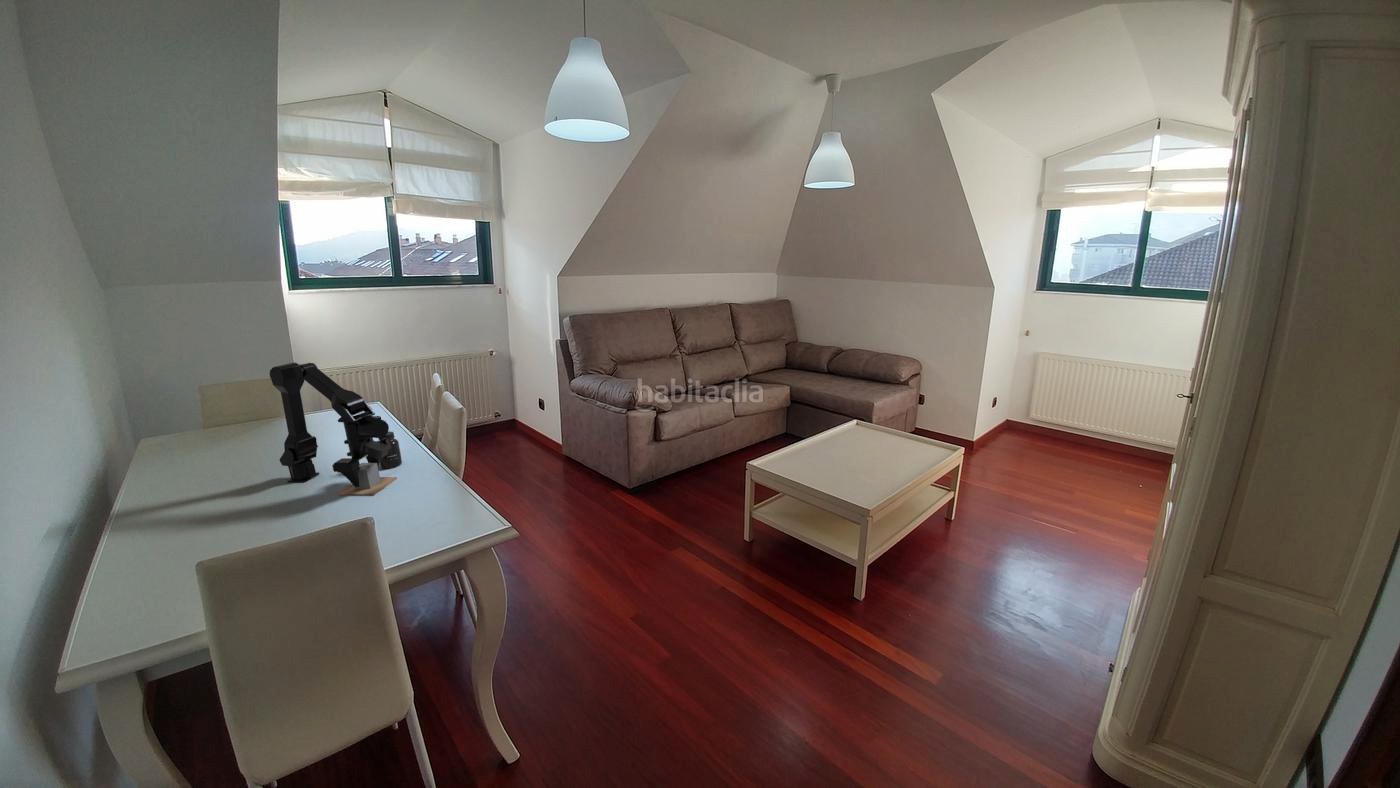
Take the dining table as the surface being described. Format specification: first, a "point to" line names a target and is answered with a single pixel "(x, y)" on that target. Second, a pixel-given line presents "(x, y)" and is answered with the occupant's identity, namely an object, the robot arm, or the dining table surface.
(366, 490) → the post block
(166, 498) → the dining table surface
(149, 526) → the dining table surface
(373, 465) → the grey rectangular block
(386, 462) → the supplement bottle
